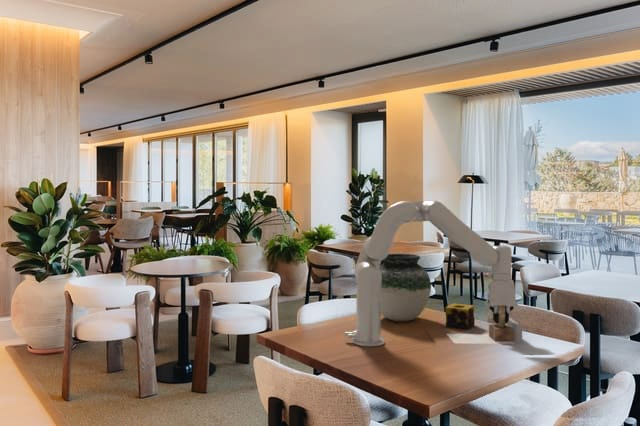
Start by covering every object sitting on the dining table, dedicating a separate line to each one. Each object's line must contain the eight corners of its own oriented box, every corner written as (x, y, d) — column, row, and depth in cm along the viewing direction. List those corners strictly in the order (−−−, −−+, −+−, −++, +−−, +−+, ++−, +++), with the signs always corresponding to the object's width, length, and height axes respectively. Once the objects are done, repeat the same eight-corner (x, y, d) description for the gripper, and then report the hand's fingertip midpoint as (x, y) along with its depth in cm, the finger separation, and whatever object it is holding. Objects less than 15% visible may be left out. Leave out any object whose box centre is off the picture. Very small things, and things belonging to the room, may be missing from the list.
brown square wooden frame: (494, 341, 203) (494, 328, 202) (488, 336, 210) (488, 324, 210) (513, 341, 202) (514, 328, 202) (507, 336, 210) (507, 324, 210)
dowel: (498, 329, 205) (498, 299, 204) (495, 327, 208) (495, 298, 207) (506, 329, 205) (506, 299, 204) (503, 327, 208) (503, 298, 207)
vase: (416, 329, 224) (417, 261, 223) (359, 321, 240) (359, 256, 239) (439, 317, 248) (440, 254, 247) (386, 310, 264) (386, 251, 263)
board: (454, 345, 200) (454, 325, 199) (446, 336, 214) (446, 317, 213) (522, 346, 199) (522, 325, 199) (509, 336, 213) (509, 317, 213)
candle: (475, 327, 228) (475, 305, 228) (468, 332, 220) (468, 309, 219) (452, 324, 233) (452, 302, 233) (445, 329, 225) (445, 306, 225)
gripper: (483, 278, 202) (483, 324, 202) (525, 278, 202) (525, 324, 202) (477, 275, 209) (477, 320, 210) (518, 275, 209) (518, 320, 210)
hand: (500, 322), depth 206 cm, fingers closed on dowel, 3 cm apart
